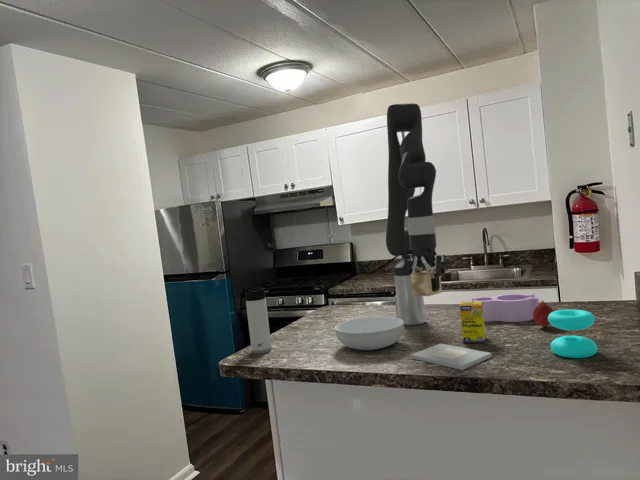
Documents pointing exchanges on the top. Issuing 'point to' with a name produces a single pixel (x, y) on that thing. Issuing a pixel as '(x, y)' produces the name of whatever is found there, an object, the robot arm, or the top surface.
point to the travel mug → (258, 321)
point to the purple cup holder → (508, 307)
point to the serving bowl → (370, 332)
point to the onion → (542, 314)
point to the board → (451, 356)
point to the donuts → (572, 344)
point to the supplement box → (472, 322)
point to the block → (423, 284)
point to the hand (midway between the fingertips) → (426, 289)
